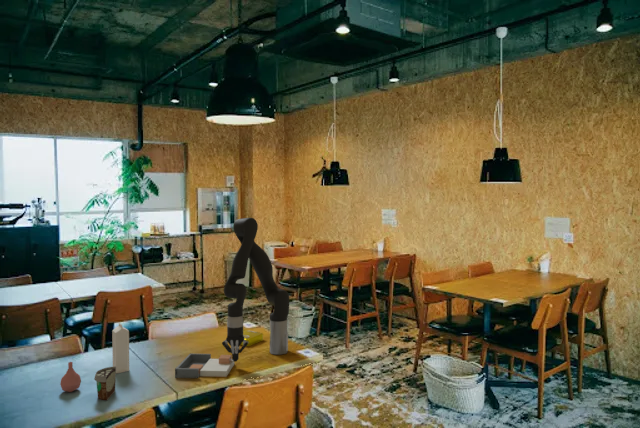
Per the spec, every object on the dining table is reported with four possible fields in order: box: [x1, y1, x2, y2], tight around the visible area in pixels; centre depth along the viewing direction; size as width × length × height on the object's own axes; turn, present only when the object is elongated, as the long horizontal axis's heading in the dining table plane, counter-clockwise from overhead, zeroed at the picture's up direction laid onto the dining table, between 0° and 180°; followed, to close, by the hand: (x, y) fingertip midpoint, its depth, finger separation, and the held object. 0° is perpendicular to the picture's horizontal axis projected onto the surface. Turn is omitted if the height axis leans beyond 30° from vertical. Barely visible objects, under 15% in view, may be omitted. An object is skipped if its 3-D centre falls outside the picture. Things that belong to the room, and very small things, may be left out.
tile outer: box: [190, 364, 203, 374], centre depth 218 cm, size 5×5×2 cm
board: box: [199, 358, 235, 378], centre depth 222 cm, size 12×16×2 cm
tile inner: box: [218, 354, 232, 364], centre depth 226 cm, size 5×5×2 cm
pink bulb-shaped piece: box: [59, 361, 82, 393], centre depth 197 cm, size 8×8×12 cm
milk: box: [111, 322, 130, 374], centre depth 220 cm, size 6×6×22 cm
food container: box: [93, 366, 117, 401], centre depth 192 cm, size 12×6×10 cm, turn 5°
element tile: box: [240, 329, 264, 347], centre depth 267 cm, size 15×15×5 cm
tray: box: [174, 352, 212, 379], centre depth 222 cm, size 10×21×4 cm, turn 177°
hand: (235, 361), depth 225 cm, fingers closed
